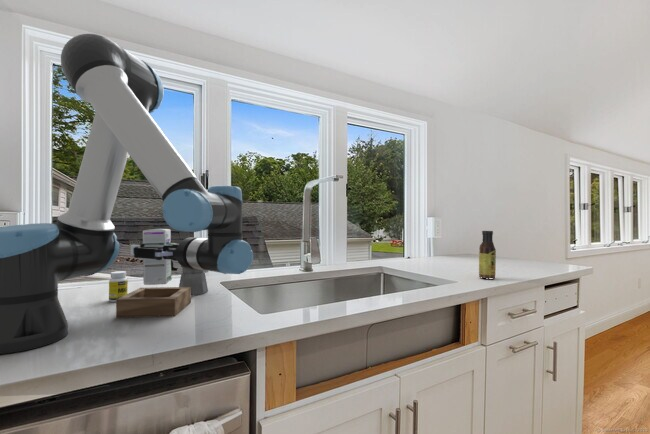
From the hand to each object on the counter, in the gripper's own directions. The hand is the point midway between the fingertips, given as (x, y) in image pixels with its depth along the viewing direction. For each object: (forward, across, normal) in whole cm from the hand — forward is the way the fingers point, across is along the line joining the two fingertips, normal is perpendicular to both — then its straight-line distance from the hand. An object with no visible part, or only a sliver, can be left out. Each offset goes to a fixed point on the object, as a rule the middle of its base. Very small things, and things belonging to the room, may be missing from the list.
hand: (147, 248), depth 96 cm
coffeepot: (+6, +17, -16) cm, 24 cm away
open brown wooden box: (-4, 0, -16) cm, 17 cm away
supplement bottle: (+14, -1, -16) cm, 22 cm away
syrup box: (-5, 0, -9) cm, 10 cm away
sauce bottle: (-69, +105, -17) cm, 127 cm away
